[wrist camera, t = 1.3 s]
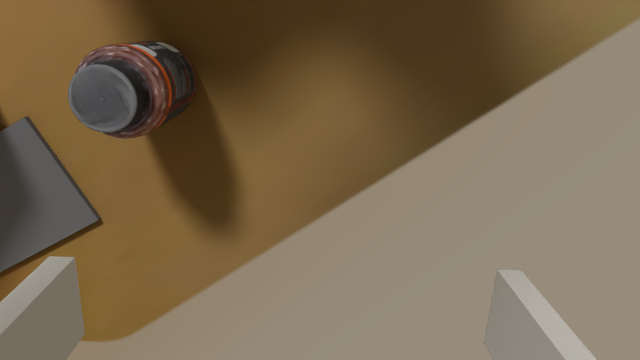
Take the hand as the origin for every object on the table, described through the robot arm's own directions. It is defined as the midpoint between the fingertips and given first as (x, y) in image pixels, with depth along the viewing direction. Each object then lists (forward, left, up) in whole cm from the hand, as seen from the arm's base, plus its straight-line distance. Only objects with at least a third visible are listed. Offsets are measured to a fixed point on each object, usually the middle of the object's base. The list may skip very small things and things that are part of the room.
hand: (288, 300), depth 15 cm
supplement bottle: (-9, -8, -26) cm, 29 cm away
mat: (-7, -26, -26) cm, 38 cm away
